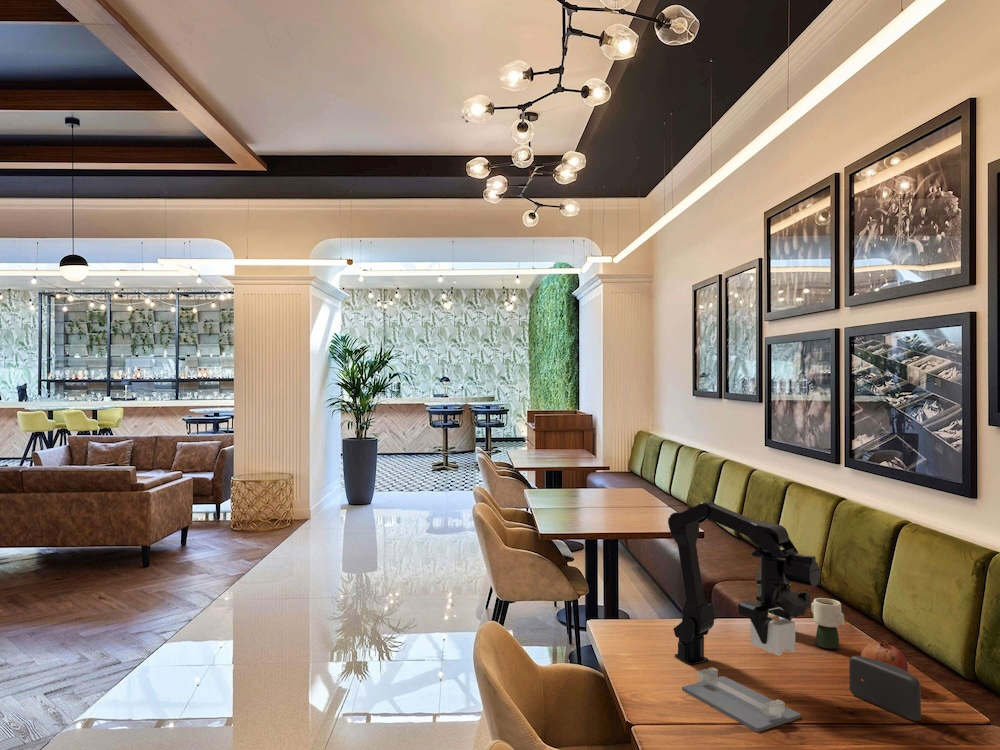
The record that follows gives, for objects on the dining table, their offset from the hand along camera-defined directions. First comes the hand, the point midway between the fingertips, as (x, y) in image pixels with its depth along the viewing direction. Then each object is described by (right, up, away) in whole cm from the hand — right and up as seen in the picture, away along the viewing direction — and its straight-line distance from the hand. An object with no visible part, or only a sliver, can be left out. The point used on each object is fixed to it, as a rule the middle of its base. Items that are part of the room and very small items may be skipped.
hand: (772, 641), depth 157 cm
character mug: (+27, -13, +27) cm, 40 cm away
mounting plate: (-12, -11, -9) cm, 18 cm away
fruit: (+30, -12, +4) cm, 33 cm away
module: (0, -2, 0) cm, 2 cm away
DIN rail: (-12, -11, -9) cm, 18 cm away
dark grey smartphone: (+21, -12, -10) cm, 26 cm away
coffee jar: (+17, -13, +39) cm, 45 cm away
